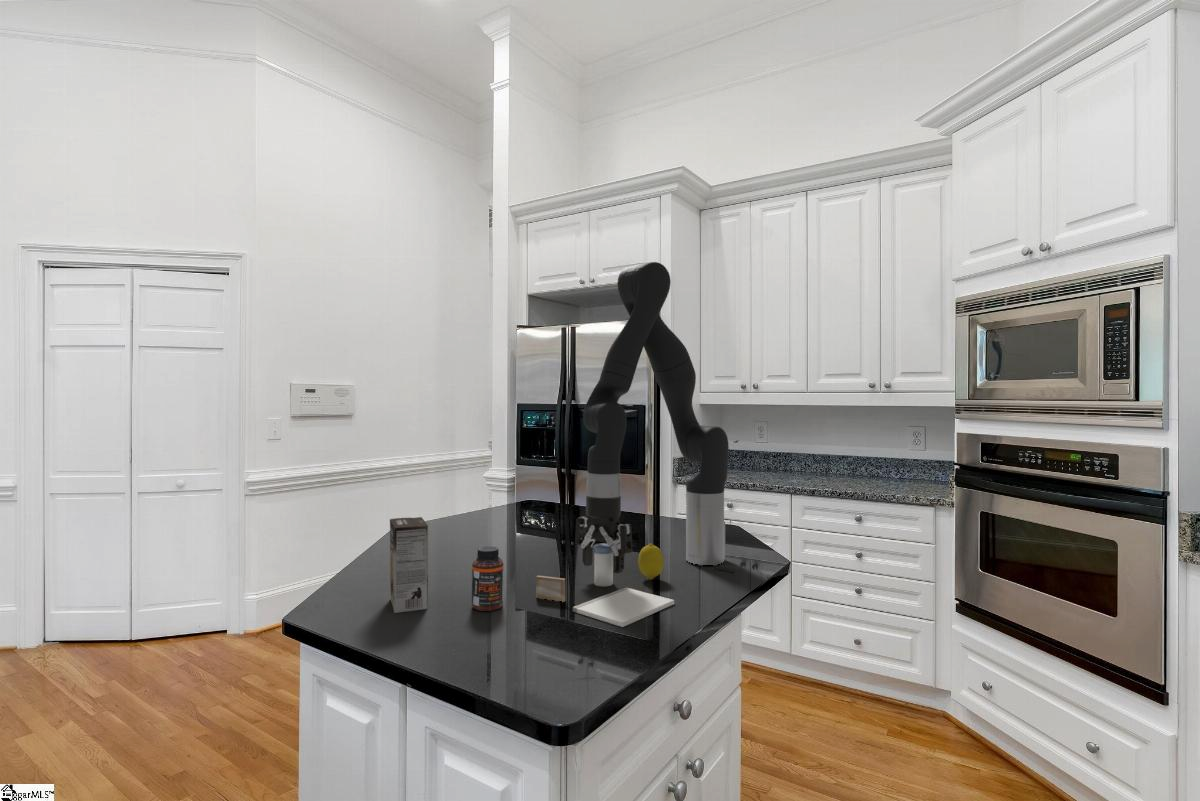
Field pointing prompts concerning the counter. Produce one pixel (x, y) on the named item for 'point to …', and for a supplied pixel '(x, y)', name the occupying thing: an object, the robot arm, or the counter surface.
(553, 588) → the word sign
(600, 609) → the paper pad
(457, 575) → the counter surface
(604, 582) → the white blue capped bottle
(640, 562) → the lemon
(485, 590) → the supplement bottle
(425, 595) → the coffee box
